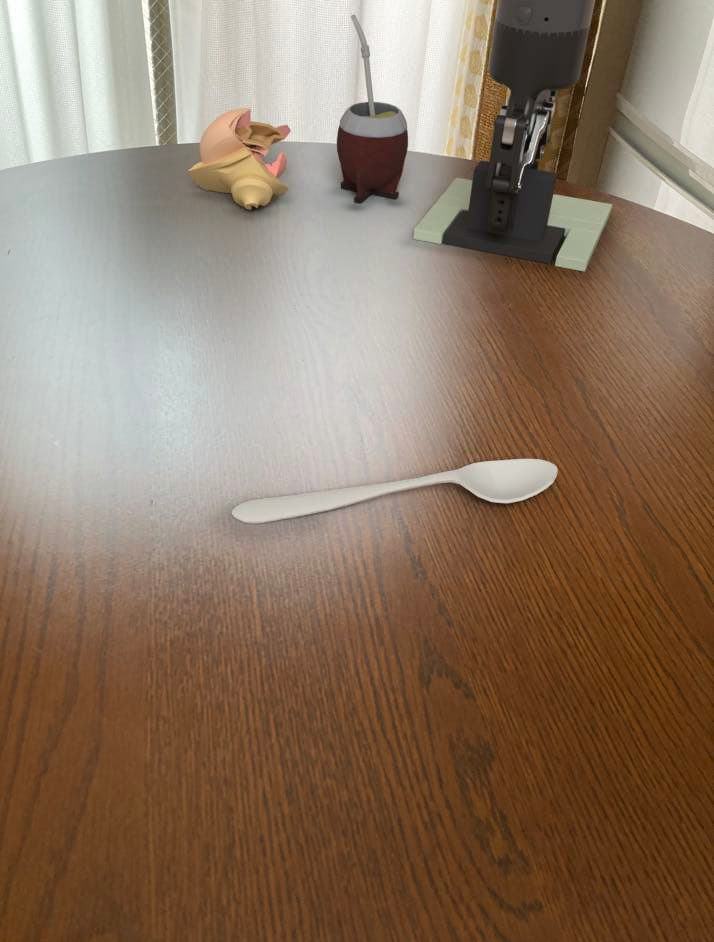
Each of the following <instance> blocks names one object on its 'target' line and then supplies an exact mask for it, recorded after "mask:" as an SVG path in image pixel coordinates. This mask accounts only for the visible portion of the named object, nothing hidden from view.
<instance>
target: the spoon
mask: <svg viewBox="0 0 714 942" xmlns="http://www.w3.org/2000/svg"><path fill="white" fill-rule="evenodd" d="M558 472H559V469H558V467H557V465H555V464H554V463H552V462H550V461H548V460H545V459H544V460H543V459H540V458H516V459H502V460H485V461H479V462H474V463H470V464H467V465H465V466H463V467H460V468H457V469H452V470H447V471H442V472H437V473H433V474H429V475H424V476H419V477H416V478H409V479H402V480H395V481H389V482H381V483H375V484H367V485H359V486H353V487H352V486H350V487H344V488H336V489H335V488H334V489H330V490H321V491H314V492H313V491H312V492H306V493H299V494H291V495H290V494H289V495H282V496H274V497H265V498H256V499H250V500H247V501H244V502H241V503H239V504H238V505H236V506H235V507H234V508H233V509H232V510H231V516H232V517H233V518H234V519H236V520H237V521H239V522H242V523H245V524H265V523H273V522H277V521H282V520H286V519H293V518H298V517H303V516H307V515H313V514H318V513H322V512H327V511H331V510H335V509H339V508H342V507H346V506H349V505H353V504H357V503H360V502H364V501H368V500H371V499H374V498H378V497H380V496H384V495H387V494H391V493H397V492H401V491H406V490H411V489H416V488H421V487H426V486H431V485H436V484H446V483H453V484H457V485H460V486H462V487H463V488H465V489H466V490H467V491H469V492H471V493H472V494H473V495H474V496H476V497H478V498H480V499H481V500H482V499H483V500H485V501H488V502H490V503H497V504H499V503H500V504H512V503H516V502H521V501H524V500H527V499H529V498H532V497H534V496H537V495H538V494H539V493H542V492H543V491H545V490H546V489H548V488H549V487H550V486H551V485H552V484H554V482H555V480H556V478H557V476H558Z"/></svg>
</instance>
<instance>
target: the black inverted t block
mask: <svg viewBox="0 0 714 942" xmlns="http://www.w3.org/2000/svg"><path fill="white" fill-rule="evenodd" d="M488 168H489V161H487V160H480V161H479V162H478V164H477V165H475V167H474V169H473V173H472V180H473V181H472V188H471V195H470V202H469V210H468V211H466V210H462V211H461V213H460V214H459V215H458V217H457V218H456V219H455V221H454V222H453V223H452V225H451V226H450V227H449V229H448V230H447V231H446V233H445V236H444V240H443V244H445V245H449V246H454V247H460V248H465V249H469V250H476V251H481V252H484V253H485V252H486V253H491V254H496V255H502V256H506V257H511V258H517V259H522V260H527V261H532V262H537V263H541V264H542V263H543V264H546V265H547V264H549V265H551V264H552V261H553V260H554V257H556V254H557V253H558V250H559V249H560V247H561V244H562V243H563V240H564V238H565V237H564V234H565V228H560V227H554V226H549V225H547V224H548V219H549V214H550V209H551V204H552V199H553V194H554V193H555V190H556V189H555V188H556V183H557V179H558V172H553V171H547V170H542V169H541V170H540V169H538V170H536V169H530V168H528V169H526V170H525V173H524V177H523V181H522V189H521V191H520V192H519V196H518V202H517V208H516V213H515V219H514V225H513V230H512V231H511V233H510V234H509V235H507V236H505V235H499V234H494V233H490V232H488V230H487V222H488V215H489V208H490V202H491V195H492V191H490V190H486V185H485V182H486V179H487V174H488ZM511 173H512V166H511V165H504V166H503V168H502V172H501V177H507V178H511Z"/></svg>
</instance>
